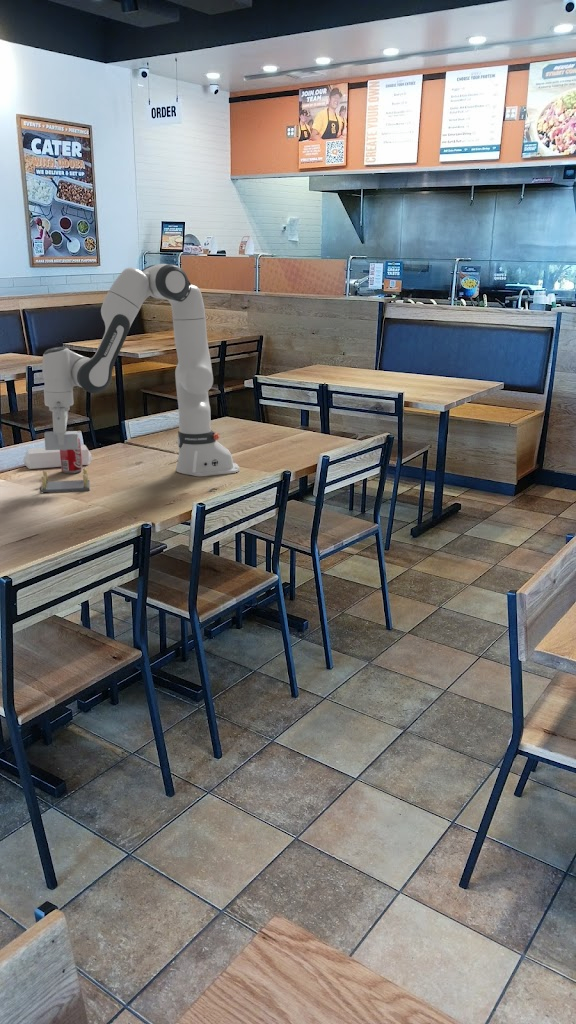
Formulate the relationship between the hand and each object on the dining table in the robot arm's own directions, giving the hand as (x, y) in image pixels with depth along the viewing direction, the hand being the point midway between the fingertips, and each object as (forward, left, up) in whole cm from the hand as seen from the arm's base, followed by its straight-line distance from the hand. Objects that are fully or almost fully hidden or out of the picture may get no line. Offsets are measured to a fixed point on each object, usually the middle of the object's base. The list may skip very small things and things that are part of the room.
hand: (61, 442), depth 251 cm
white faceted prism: (+3, -30, -16) cm, 34 cm away
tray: (0, 0, -15) cm, 15 cm away
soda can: (-2, -21, -15) cm, 26 cm away
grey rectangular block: (0, 0, -2) cm, 2 cm away
